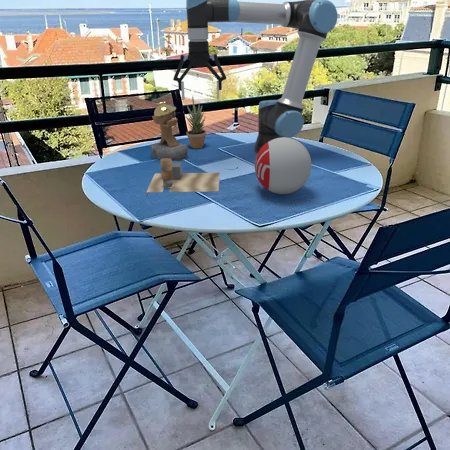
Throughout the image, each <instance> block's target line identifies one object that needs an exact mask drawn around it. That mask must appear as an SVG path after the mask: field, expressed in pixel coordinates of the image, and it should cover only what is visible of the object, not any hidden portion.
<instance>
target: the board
mask: <svg viewBox="0 0 450 450" xmlns="http://www.w3.org/2000/svg"><path fill="white" fill-rule="evenodd" d="M220 173H221V172H182V177H181V179H176V180H172V185H173V186H172V187H164V186H163V179H162V174H161V172H159V173H154V175H153V177H152V179H151V181H150V183H149V185H148V188H147V190H146V193H145V194H146V197H148V196H149V194H150V193H163V192H164V189H169V192H168V193H184V192H185V193H190V192H191V193H193V192H194V193H195V192H197V193H198V192H199V193H200V192H205V193H206V192H208V193H209V192H219V191H220V190H219V188H220Z"/></svg>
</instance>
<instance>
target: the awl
mask: <svg viewBox="0 0 450 450" xmlns="http://www.w3.org/2000/svg"><path fill="white" fill-rule="evenodd" d="M159 161H160V171H161V172H160V173H161V174H162V179H163V186H164V187H172V186H173V185H172V182H173V180H172V178H173V174H172V162H173V161H172V160H171V159H170V158H163V159H161V160H159Z"/></svg>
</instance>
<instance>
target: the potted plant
mask: <svg viewBox="0 0 450 450" xmlns="http://www.w3.org/2000/svg"><path fill="white" fill-rule="evenodd" d="M191 100H192V111H191V109H190V107H189V106H188V105H186V107H187V110H188V112H189V113H188V117H189V118H188V117H187V116H185V119H186V120H187V121H188V122H189V123H188V125H189V128H190V130H188V131H186V137H187V138H188V141H189V145H190V147H191V148H192V149H201V148H204V144H205V139H206V136H207V131H206V130H204V128H205V123H204V122H205V120H206V116H204V114H205V111H202V110H203V105H201V106H200V104H198V107H197V108H196V106H195V99H194V96H191ZM203 116H204V118H203Z"/></svg>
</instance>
